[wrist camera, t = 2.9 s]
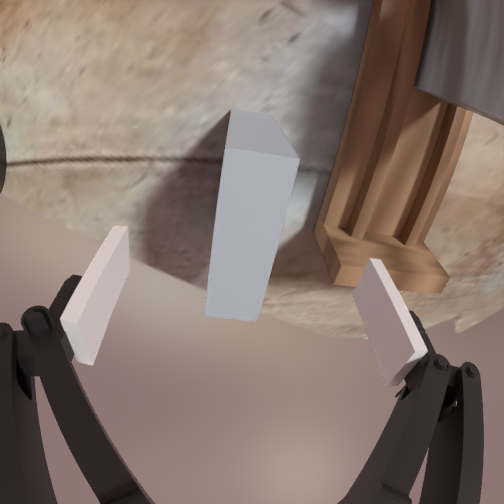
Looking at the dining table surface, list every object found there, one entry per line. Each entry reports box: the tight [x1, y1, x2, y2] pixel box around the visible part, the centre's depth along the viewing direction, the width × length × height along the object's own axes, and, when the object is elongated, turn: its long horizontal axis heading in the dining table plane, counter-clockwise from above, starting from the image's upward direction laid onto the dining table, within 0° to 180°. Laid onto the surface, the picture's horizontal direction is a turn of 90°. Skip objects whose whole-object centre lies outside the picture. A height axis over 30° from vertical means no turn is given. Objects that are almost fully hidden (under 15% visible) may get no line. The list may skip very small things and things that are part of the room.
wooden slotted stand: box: [314, 0, 504, 293], centre depth 17 cm, size 12×30×14 cm, turn 170°
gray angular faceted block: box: [205, 109, 300, 321], centre depth 21 cm, size 4×11×12 cm, turn 170°
